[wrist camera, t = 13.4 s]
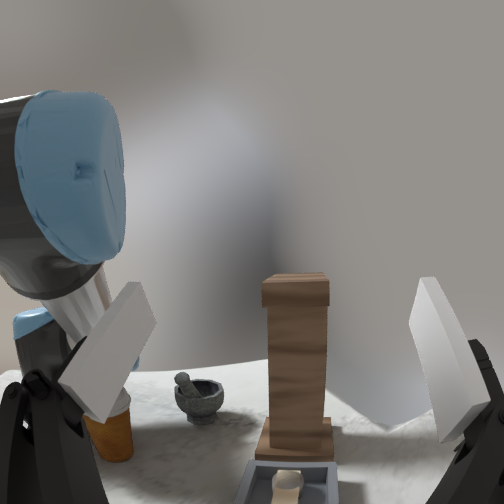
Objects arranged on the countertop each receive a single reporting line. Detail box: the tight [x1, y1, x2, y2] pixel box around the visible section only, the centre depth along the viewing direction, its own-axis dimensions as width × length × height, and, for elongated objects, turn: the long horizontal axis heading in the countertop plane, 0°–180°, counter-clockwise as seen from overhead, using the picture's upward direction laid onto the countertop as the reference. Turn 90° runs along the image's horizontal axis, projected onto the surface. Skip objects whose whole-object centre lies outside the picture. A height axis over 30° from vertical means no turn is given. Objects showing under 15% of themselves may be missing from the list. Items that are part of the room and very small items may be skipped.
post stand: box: [255, 273, 334, 462], centre depth 42 cm, size 16×12×29 cm
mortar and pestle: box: [174, 372, 224, 425], centre depth 51 cm, size 11×9×12 cm
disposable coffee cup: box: [82, 387, 134, 462], centre depth 36 cm, size 10×10×12 cm
